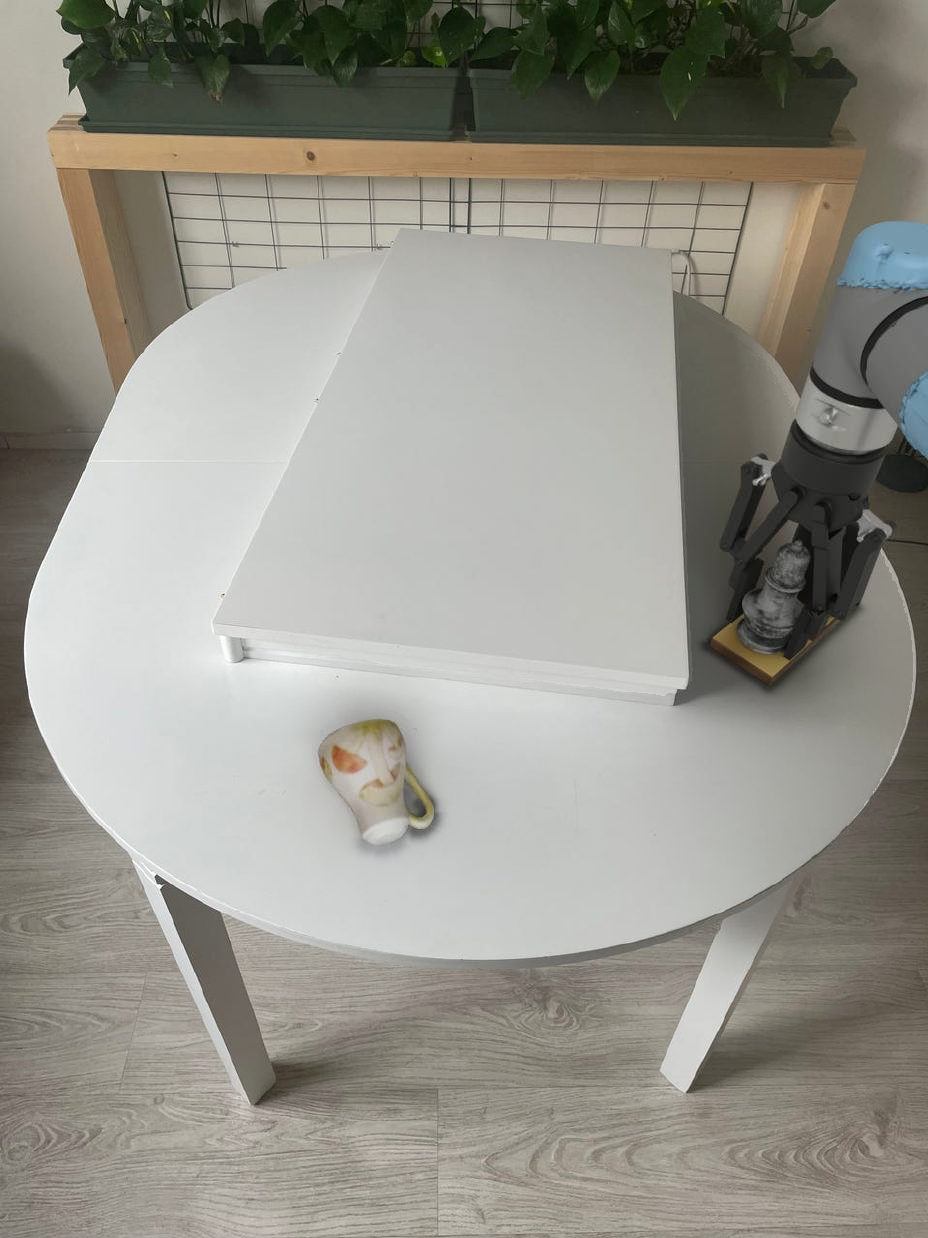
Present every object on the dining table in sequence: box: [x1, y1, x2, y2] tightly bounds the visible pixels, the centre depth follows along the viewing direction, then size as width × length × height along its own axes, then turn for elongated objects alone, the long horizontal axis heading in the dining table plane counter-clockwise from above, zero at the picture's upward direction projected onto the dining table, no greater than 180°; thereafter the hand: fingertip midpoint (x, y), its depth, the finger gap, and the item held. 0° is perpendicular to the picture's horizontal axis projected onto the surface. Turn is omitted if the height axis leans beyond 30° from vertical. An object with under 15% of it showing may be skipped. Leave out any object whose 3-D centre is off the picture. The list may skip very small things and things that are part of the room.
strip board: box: [709, 603, 843, 686], centre depth 93 cm, size 7×16×1 cm, turn 133°
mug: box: [317, 718, 435, 846], centre depth 75 cm, size 8×10×10 cm
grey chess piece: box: [737, 540, 810, 655], centre depth 85 cm, size 6×6×12 cm
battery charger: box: [790, 522, 860, 617], centre depth 90 cm, size 7×4×11 cm, turn 51°
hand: (764, 632), depth 89 cm, fingers closed on grey chess piece, 6 cm apart
